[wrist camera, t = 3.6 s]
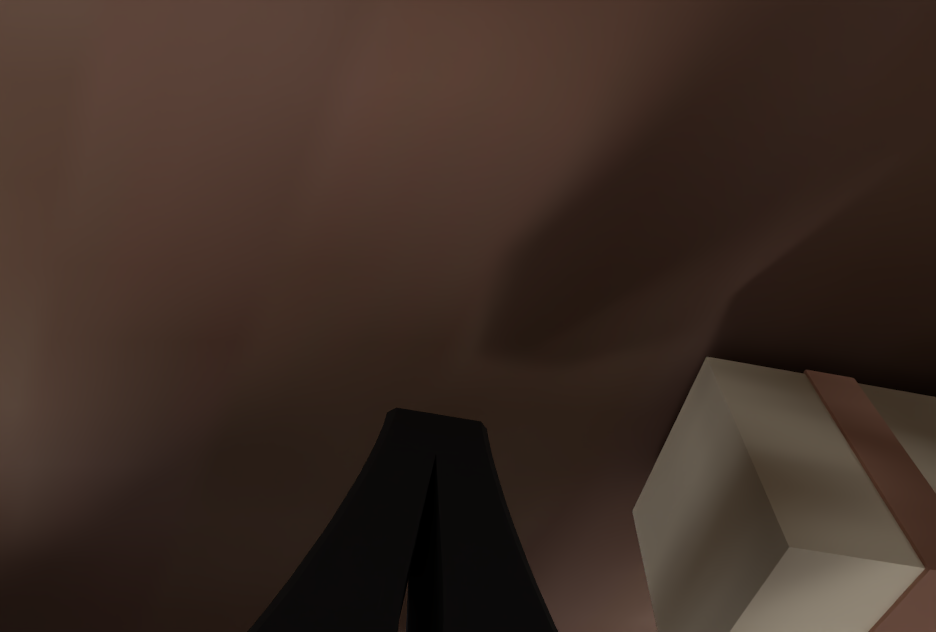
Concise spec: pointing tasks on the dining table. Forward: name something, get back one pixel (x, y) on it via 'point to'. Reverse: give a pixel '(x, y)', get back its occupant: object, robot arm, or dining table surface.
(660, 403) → the dining table surface
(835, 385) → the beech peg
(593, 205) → the dining table surface
